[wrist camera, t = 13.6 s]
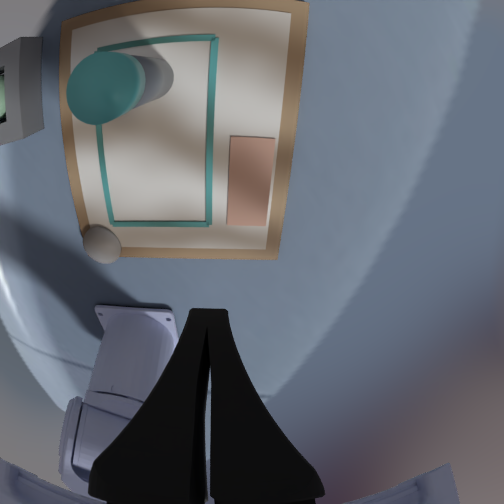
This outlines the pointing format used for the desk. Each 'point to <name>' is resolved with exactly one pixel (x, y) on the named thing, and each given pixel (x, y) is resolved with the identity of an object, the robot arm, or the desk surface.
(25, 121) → the button housing
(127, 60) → the marker
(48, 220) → the desk surface
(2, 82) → the button
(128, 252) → the framed board
